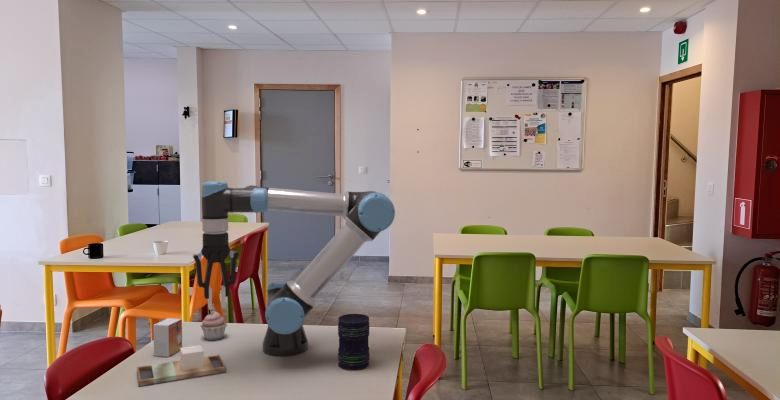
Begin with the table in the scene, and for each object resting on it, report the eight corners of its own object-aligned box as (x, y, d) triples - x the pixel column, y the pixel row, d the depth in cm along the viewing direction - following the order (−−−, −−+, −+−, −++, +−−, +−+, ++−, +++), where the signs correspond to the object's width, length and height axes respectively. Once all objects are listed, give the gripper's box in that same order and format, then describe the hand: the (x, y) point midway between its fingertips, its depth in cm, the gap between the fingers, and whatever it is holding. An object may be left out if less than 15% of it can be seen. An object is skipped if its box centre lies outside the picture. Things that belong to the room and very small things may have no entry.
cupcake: (195, 337, 197) (195, 310, 197) (220, 332, 204) (219, 305, 203) (207, 344, 190) (206, 315, 190) (232, 338, 197) (231, 311, 196)
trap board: (219, 359, 176) (219, 354, 176) (226, 372, 165) (226, 367, 165) (137, 372, 165) (137, 367, 165) (138, 386, 154) (138, 381, 154)
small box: (168, 357, 177) (168, 325, 177) (153, 356, 178) (152, 324, 178) (182, 349, 185) (182, 318, 184) (168, 348, 186) (167, 317, 186)
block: (201, 360, 170) (200, 345, 170) (203, 367, 165) (203, 351, 164) (180, 363, 167) (180, 347, 167) (182, 370, 162) (182, 354, 162)
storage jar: (353, 373, 165) (353, 324, 164) (331, 365, 172) (331, 318, 171) (376, 364, 172) (376, 317, 171) (354, 356, 179) (354, 311, 178)
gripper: (240, 229, 174) (241, 302, 175) (185, 232, 166) (187, 308, 168) (245, 232, 167) (246, 307, 169) (188, 235, 160) (190, 314, 161)
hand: (216, 307), depth 168 cm, fingers open, 3 cm apart
